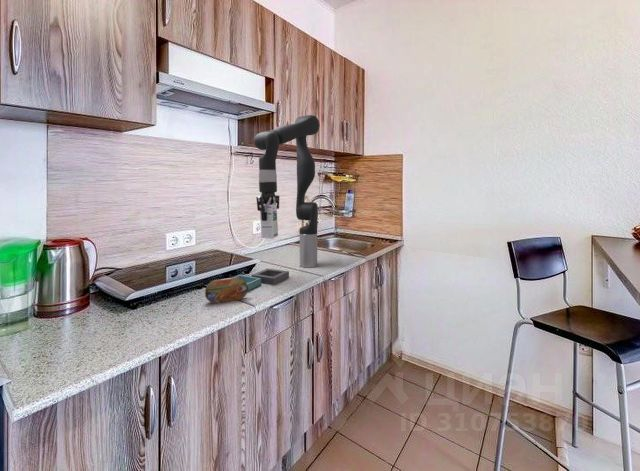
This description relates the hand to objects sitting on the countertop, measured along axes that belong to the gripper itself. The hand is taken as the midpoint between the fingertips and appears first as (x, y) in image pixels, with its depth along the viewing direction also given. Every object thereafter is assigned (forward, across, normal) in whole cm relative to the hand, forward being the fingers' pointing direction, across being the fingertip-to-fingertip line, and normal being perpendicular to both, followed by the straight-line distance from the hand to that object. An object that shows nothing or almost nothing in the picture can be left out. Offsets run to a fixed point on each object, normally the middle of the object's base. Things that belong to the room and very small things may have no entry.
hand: (269, 219), depth 135 cm
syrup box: (+8, 0, 0) cm, 8 cm away
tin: (+27, +28, 0) cm, 39 cm away
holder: (+27, 0, 0) cm, 27 cm away
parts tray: (+27, +14, -5) cm, 31 cm away
